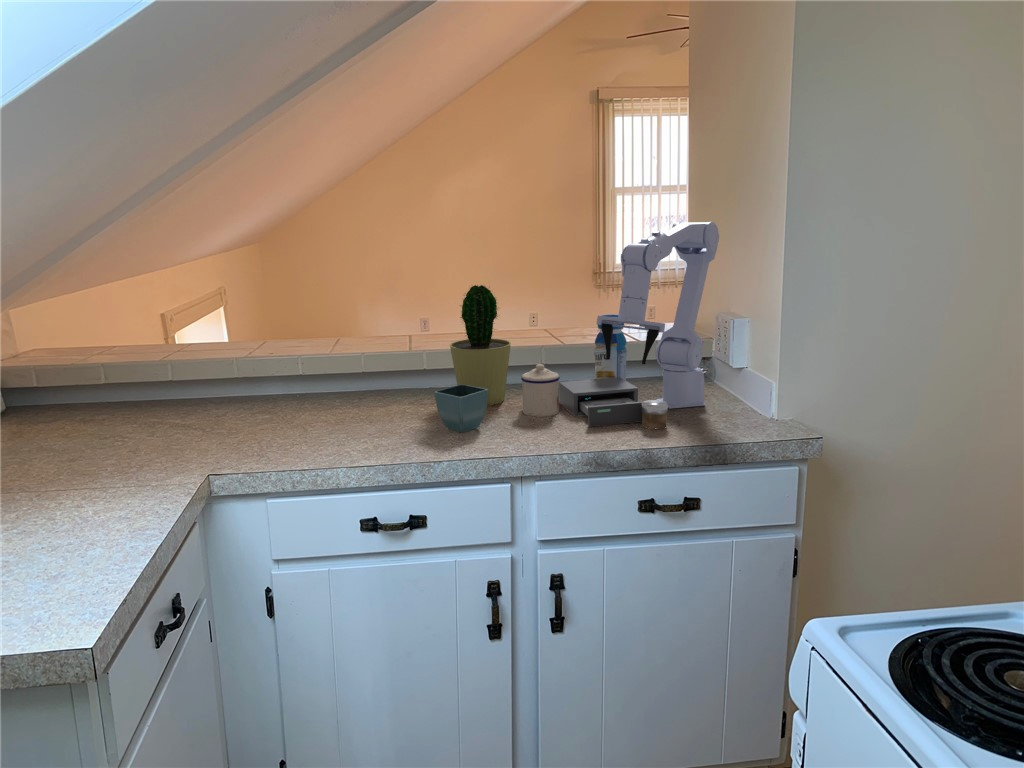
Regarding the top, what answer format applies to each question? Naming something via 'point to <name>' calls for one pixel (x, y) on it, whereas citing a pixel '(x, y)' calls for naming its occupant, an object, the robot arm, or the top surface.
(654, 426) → the walnut block
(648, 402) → the disc
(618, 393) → the grey drawer box
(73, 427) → the top surface
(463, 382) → the potted cactus
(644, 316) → the robot arm
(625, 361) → the beverage bottle
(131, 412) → the top surface
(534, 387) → the cream lidded canister
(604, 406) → the tray
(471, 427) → the flower pot
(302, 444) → the top surface
